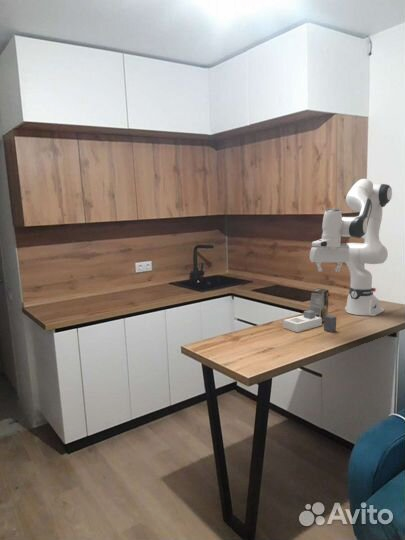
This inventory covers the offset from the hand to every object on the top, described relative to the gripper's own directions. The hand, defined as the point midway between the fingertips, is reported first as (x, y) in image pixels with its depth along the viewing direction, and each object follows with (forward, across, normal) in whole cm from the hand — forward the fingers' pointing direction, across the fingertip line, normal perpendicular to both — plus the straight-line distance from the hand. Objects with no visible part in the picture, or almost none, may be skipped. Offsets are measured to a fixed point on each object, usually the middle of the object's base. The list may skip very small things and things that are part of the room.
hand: (328, 271), depth 199 cm
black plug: (+29, -1, +2) cm, 29 cm away
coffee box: (+28, -6, -15) cm, 32 cm away
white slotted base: (+29, +8, -7) cm, 31 cm away
